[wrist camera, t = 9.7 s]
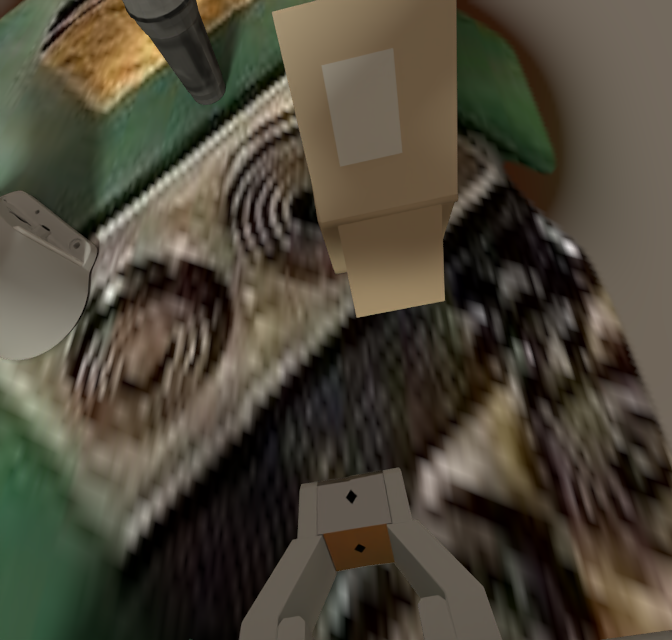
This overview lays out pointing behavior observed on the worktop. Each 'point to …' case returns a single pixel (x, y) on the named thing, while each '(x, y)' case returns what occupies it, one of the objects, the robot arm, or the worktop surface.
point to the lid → (378, 136)
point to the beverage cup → (181, 44)
